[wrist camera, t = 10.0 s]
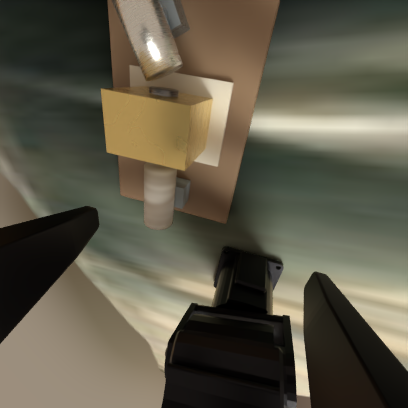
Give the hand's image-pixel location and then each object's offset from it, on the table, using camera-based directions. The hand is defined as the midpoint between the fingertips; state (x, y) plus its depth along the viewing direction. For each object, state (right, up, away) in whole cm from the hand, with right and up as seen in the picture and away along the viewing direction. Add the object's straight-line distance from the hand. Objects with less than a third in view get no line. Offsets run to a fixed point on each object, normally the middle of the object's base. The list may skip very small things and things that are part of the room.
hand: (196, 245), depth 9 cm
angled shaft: (-2, +13, +6) cm, 14 cm away
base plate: (-1, +9, +10) cm, 13 cm away
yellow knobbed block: (-2, +8, +8) cm, 12 cm away
